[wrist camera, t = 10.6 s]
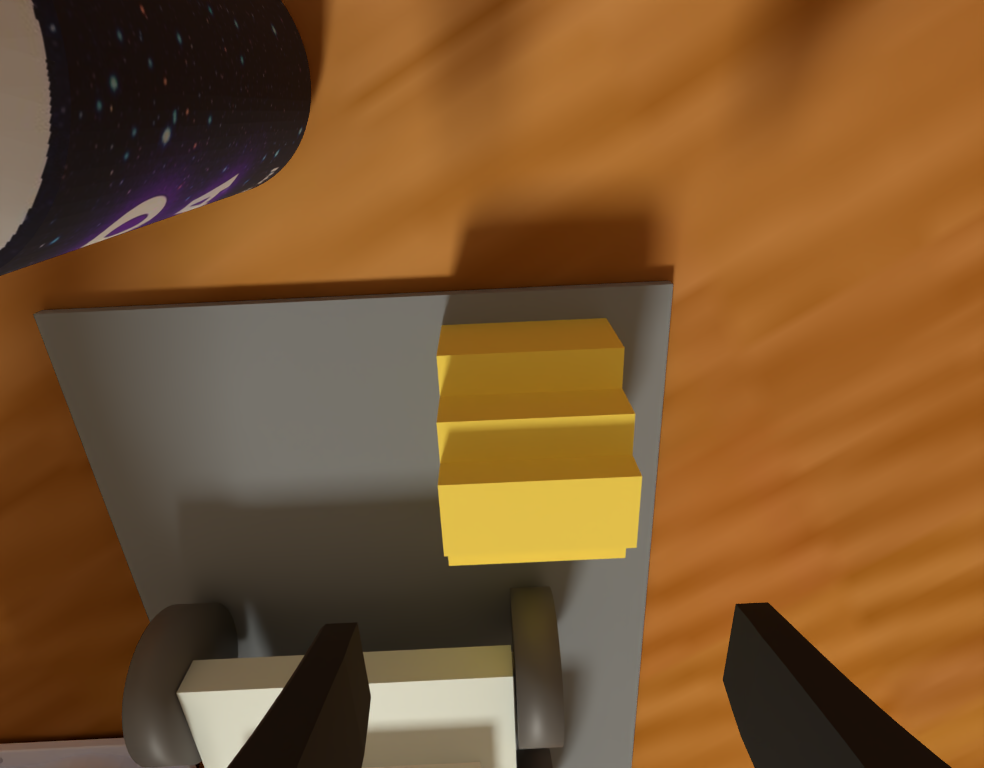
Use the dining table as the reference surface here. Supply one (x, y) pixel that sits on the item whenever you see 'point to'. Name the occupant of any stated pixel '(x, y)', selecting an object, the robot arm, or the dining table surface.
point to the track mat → (346, 476)
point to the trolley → (393, 687)
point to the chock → (535, 443)
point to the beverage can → (138, 113)
